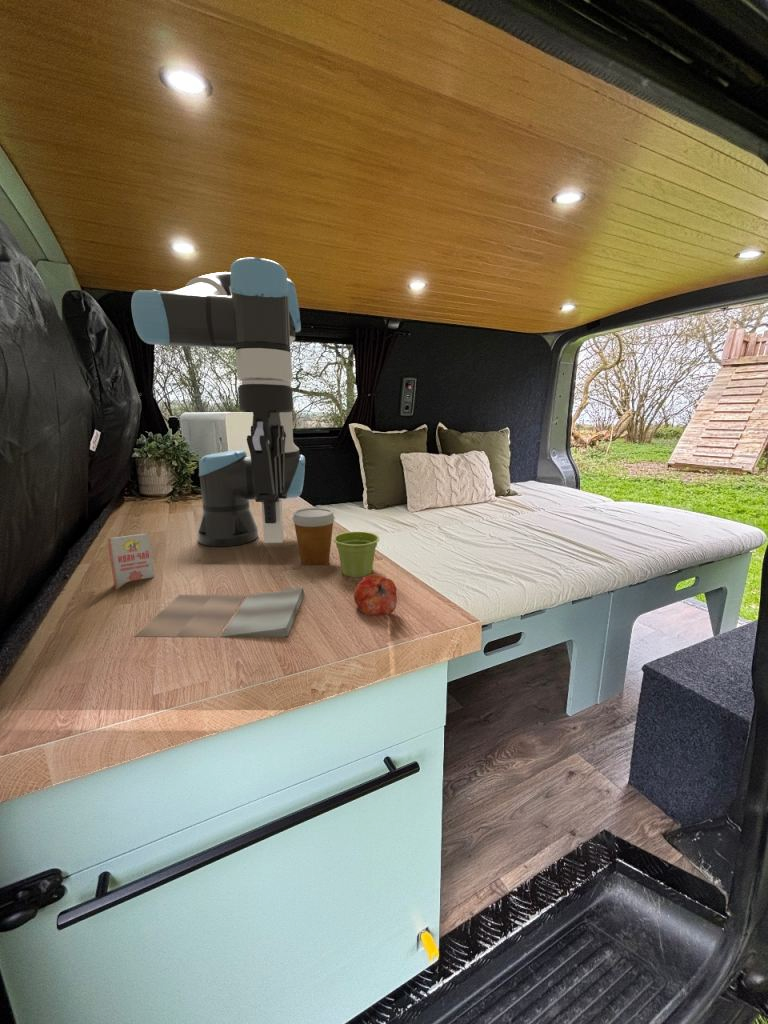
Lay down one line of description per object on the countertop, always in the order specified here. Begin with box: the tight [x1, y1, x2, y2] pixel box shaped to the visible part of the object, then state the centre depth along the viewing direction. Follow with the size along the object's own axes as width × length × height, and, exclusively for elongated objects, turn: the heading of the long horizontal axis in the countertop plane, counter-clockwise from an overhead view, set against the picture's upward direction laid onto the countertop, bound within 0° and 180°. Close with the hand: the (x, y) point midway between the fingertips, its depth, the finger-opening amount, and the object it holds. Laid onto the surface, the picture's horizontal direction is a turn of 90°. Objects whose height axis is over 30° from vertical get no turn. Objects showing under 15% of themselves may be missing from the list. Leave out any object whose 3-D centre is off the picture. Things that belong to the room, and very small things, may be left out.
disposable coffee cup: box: [291, 507, 336, 566], centre depth 92 cm, size 10×10×12 cm
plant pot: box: [333, 531, 380, 578], centre depth 85 cm, size 9×9×9 cm
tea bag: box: [107, 533, 155, 591], centre depth 80 cm, size 4×7×10 cm, turn 122°
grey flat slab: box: [219, 587, 305, 638], centre depth 67 cm, size 14×10×1 cm
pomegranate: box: [353, 573, 398, 616], centre depth 70 cm, size 7×7×10 cm
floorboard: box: [134, 594, 247, 638], centre depth 67 cm, size 14×12×1 cm
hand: (273, 541), depth 64 cm, fingers closed
